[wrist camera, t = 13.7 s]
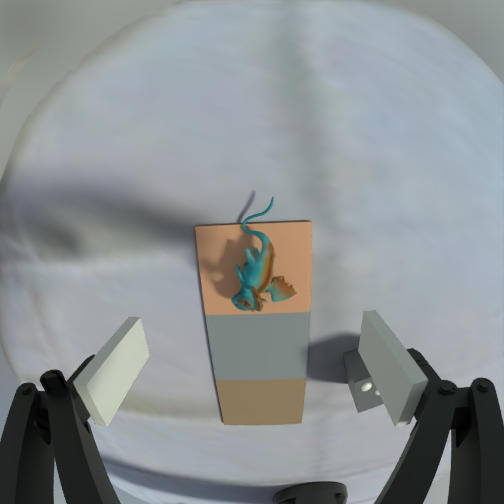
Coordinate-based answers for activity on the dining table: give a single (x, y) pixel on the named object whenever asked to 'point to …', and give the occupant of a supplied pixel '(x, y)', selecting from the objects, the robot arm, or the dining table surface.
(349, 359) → the die
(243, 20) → the dining table surface
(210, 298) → the game board
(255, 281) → the dragon figurine
